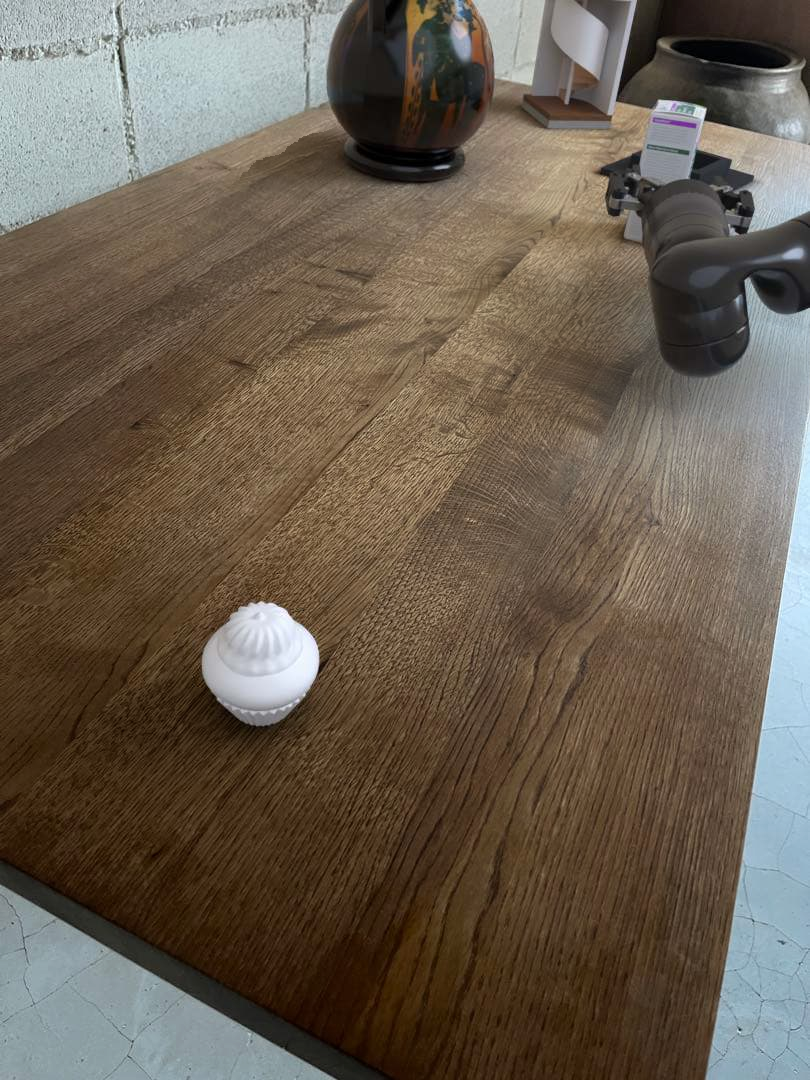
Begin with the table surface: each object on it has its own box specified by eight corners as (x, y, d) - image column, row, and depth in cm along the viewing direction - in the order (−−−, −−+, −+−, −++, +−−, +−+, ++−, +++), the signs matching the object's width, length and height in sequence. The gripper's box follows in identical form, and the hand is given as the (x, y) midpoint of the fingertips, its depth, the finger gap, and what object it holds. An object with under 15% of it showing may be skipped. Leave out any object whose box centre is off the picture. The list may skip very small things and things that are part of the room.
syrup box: (670, 248, 108) (706, 117, 99) (620, 238, 109) (651, 108, 100) (675, 232, 112) (710, 105, 103) (627, 223, 113) (657, 96, 104)
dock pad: (752, 181, 131) (759, 160, 129) (705, 206, 121) (711, 184, 119) (652, 151, 138) (657, 132, 136) (599, 173, 128) (604, 152, 126)
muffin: (238, 767, 47) (233, 675, 43) (185, 690, 51) (175, 597, 46) (339, 717, 50) (345, 626, 46) (283, 647, 54) (282, 557, 49)
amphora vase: (432, 205, 113) (459, -66, 95) (290, 163, 120) (292, -95, 103) (510, 165, 127) (546, -76, 110) (379, 130, 135) (394, -101, 117)
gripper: (776, 204, 82) (753, 152, 94) (617, 182, 83) (615, 133, 96) (749, 284, 87) (731, 224, 99) (599, 262, 88) (599, 205, 100)
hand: (674, 179), depth 97 cm, fingers open, 8 cm apart
